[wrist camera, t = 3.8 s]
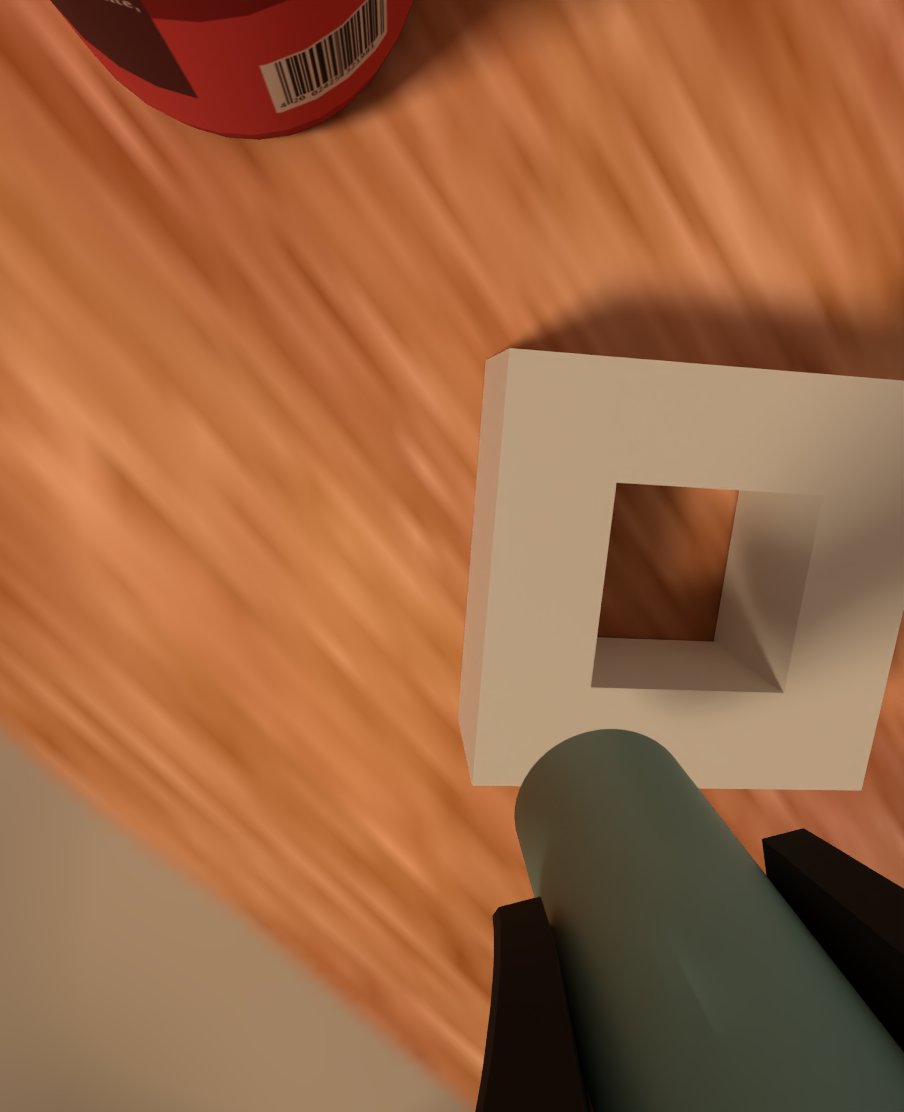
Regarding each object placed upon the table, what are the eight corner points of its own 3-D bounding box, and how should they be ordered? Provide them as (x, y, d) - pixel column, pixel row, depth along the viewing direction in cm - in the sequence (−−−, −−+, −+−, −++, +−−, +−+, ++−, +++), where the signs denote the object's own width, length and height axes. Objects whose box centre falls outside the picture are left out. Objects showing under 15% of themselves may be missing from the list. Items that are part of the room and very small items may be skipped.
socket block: (847, 389, 17) (957, 384, 14) (780, 724, 20) (861, 790, 16) (485, 360, 16) (509, 348, 13) (457, 716, 19) (472, 785, 15)
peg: (701, 731, 11) (1357, 1439, 4) (674, 885, 12) (1172, 1756, 4) (523, 726, 11) (816, 1488, 3) (507, 886, 12) (716, 1823, 4)
